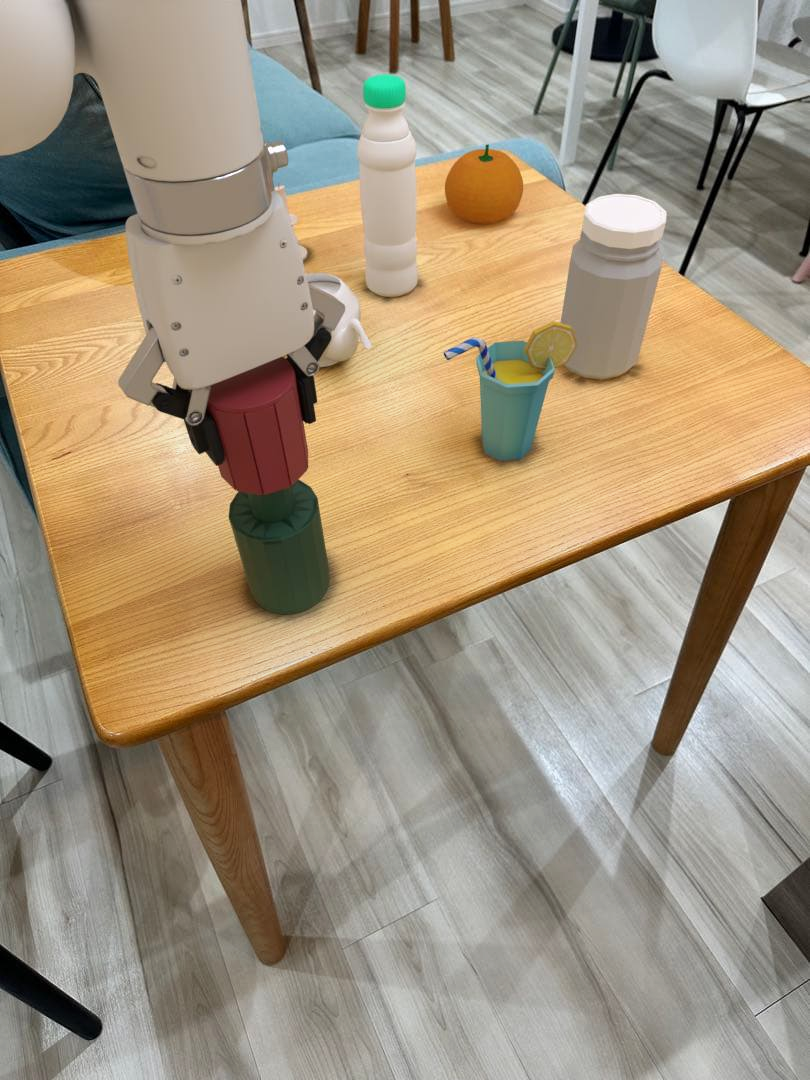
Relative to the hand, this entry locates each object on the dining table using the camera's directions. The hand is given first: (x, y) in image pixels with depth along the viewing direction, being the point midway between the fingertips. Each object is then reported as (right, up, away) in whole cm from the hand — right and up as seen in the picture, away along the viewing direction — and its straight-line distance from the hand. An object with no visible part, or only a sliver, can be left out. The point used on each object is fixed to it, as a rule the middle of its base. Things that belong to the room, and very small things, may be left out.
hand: (257, 431), depth 54 cm
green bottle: (0, -12, +14) cm, 18 cm away
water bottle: (+9, +27, +47) cm, 55 cm away
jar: (+34, +14, +35) cm, 51 cm away
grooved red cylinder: (0, -2, +2) cm, 3 cm away
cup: (+21, +2, +25) cm, 33 cm away
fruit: (+23, +42, +60) cm, 77 cm away
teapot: (+1, +15, +37) cm, 39 cm away
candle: (-6, +33, +53) cm, 62 cm away
